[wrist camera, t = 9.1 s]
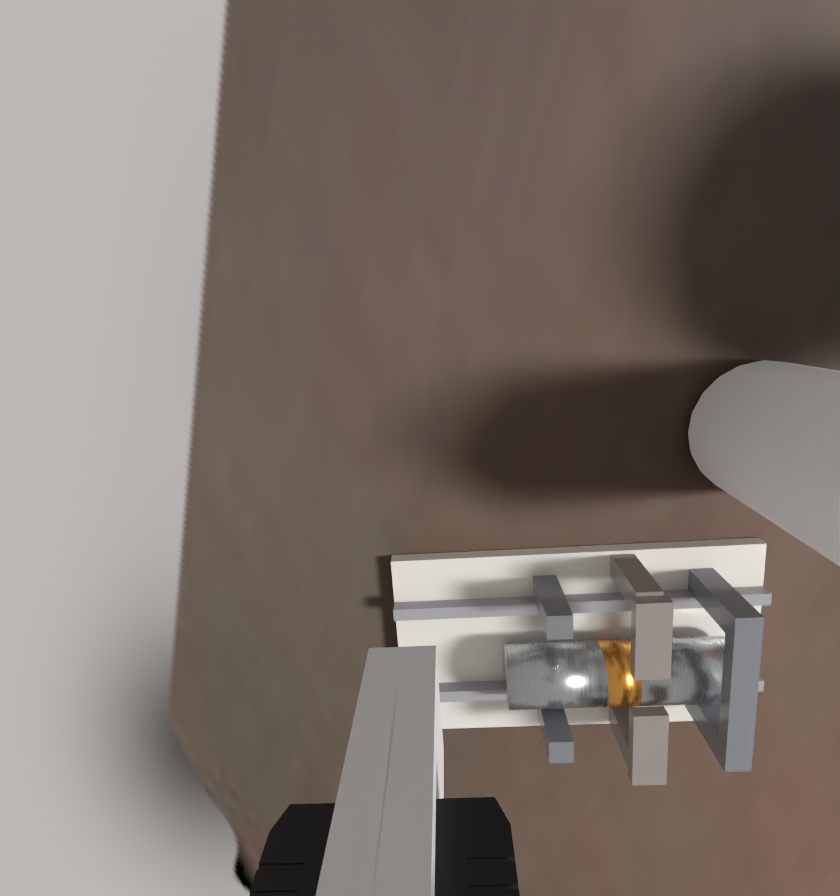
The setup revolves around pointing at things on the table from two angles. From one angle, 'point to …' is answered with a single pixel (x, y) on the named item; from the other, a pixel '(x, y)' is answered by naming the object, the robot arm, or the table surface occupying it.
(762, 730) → the table surface
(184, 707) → the table surface
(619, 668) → the tube
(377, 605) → the table surface
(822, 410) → the potion bottle
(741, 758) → the collar board
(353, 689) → the table surface
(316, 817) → the robot arm
